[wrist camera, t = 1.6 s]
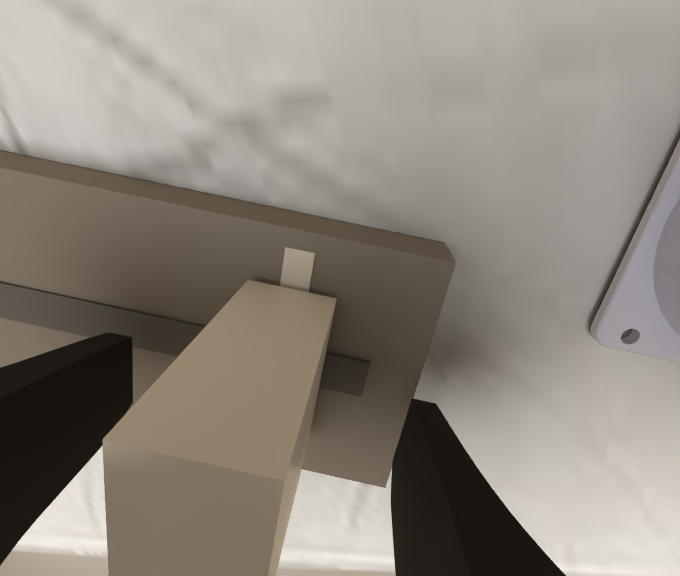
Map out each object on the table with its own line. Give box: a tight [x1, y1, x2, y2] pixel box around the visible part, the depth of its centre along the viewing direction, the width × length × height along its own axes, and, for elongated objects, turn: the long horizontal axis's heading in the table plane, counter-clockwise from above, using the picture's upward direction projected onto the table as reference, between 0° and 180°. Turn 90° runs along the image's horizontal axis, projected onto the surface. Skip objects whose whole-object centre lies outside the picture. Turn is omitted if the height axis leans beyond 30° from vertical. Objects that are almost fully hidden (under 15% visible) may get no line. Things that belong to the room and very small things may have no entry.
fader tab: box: [102, 280, 337, 576], centre depth 9 cm, size 2×5×6 cm, turn 170°
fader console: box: [0, 150, 455, 488], centre depth 13 cm, size 20×8×2 cm, turn 80°
